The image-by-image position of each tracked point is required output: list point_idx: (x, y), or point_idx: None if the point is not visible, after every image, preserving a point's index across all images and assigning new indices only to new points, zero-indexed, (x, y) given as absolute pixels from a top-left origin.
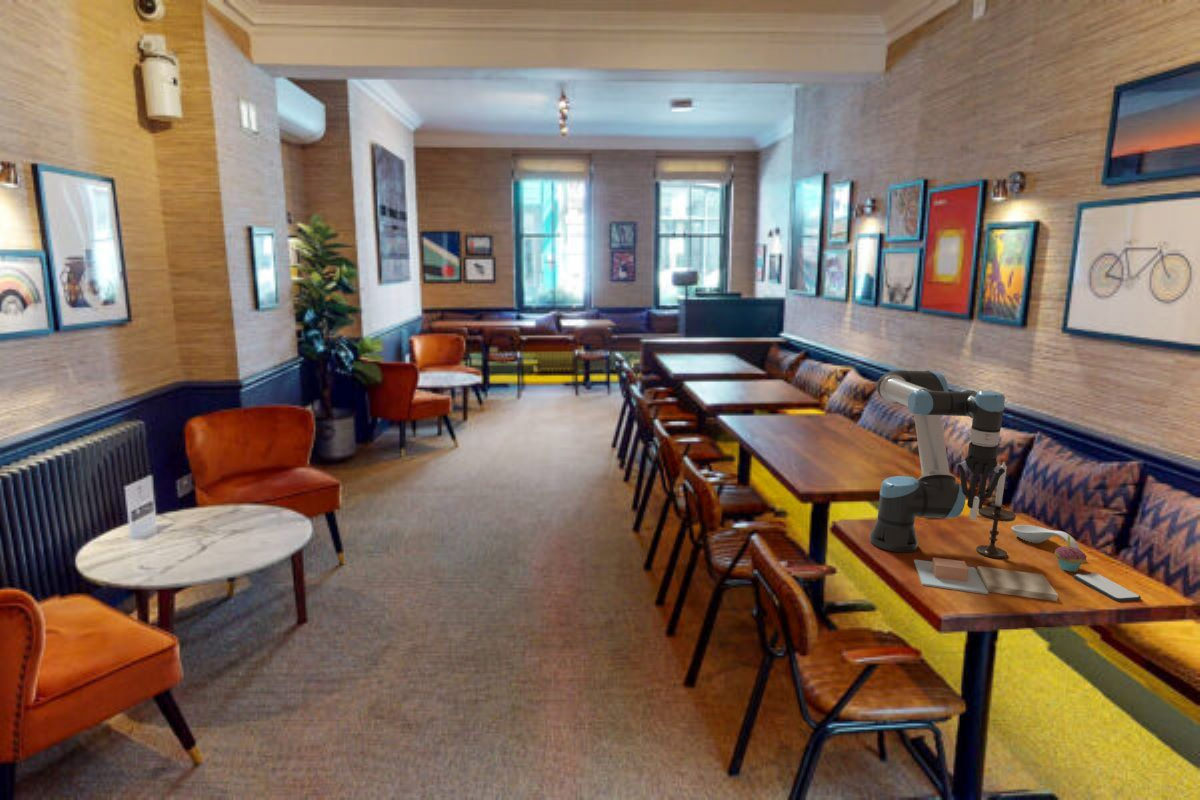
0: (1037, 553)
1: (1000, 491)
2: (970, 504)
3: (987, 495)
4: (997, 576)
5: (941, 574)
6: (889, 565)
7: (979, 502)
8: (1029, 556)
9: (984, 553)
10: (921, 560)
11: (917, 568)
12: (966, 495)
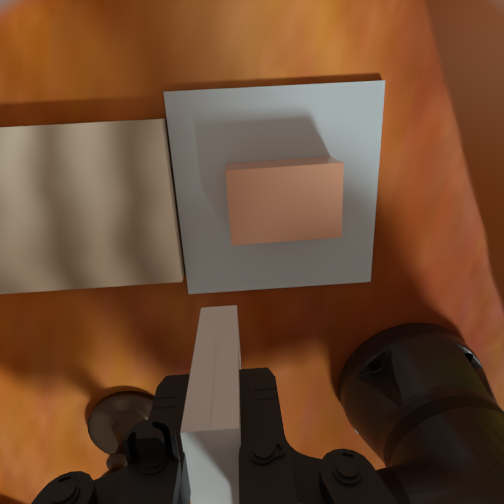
0: (8, 467)
1: None
2: (259, 390)
3: (78, 502)
4: (123, 217)
5: (313, 159)
6: (456, 213)
7: (179, 421)
8: (29, 441)
9: (151, 403)
10: (348, 282)
11: (375, 210)
12: (332, 451)
